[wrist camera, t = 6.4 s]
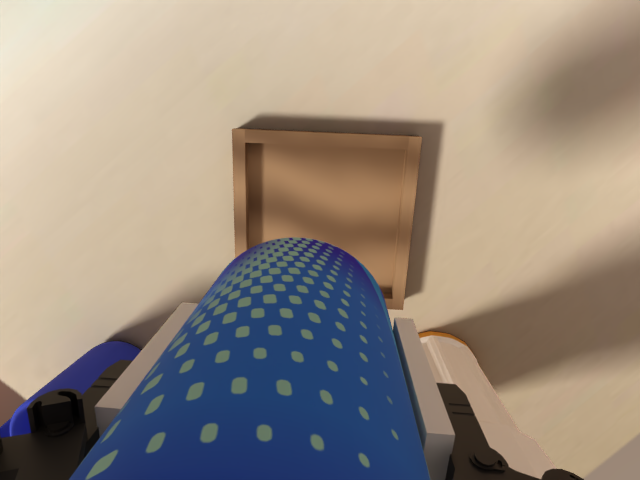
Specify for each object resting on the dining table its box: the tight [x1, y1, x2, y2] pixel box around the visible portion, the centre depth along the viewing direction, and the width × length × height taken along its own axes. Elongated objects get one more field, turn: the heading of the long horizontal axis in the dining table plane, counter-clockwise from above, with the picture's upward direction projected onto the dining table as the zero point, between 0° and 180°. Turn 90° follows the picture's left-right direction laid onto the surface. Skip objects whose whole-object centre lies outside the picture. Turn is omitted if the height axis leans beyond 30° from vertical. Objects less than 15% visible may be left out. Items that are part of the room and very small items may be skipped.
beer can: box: [69, 237, 431, 480], centre depth 13 cm, size 8×8×16 cm
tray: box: [232, 128, 422, 310], centre depth 35 cm, size 15×15×2 cm
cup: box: [418, 331, 556, 479], centre depth 32 cm, size 11×11×17 cm
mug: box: [0, 341, 141, 438], centre depth 37 cm, size 8×12×10 cm
